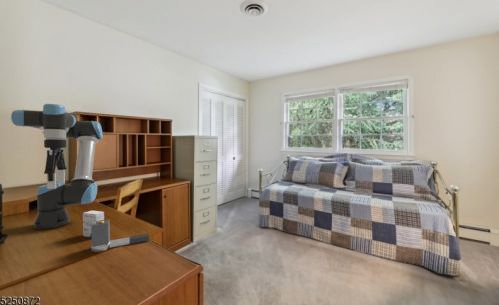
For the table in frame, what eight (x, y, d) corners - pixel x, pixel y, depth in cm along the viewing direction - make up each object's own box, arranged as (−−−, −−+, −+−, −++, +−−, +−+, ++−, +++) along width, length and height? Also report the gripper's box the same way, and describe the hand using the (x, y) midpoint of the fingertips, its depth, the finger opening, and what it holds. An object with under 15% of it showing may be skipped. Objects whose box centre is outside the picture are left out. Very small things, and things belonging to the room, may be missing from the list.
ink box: (105, 234, 112) (104, 211, 112) (95, 238, 108) (95, 214, 107) (92, 232, 115) (91, 209, 114) (82, 236, 110) (82, 212, 109)
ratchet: (90, 253, 93) (90, 238, 92) (93, 246, 99) (92, 232, 99) (149, 242, 103) (148, 228, 103) (148, 236, 109) (148, 223, 109)
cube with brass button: (93, 241, 99) (93, 220, 98) (109, 238, 101) (109, 218, 101) (91, 246, 93) (91, 225, 93) (108, 243, 96) (108, 222, 96)
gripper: (53, 139, 109) (54, 182, 110) (33, 138, 87) (34, 192, 88) (72, 139, 112) (73, 181, 113) (57, 138, 90) (59, 190, 91)
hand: (56, 186), depth 100 cm, fingers open, 13 cm apart
